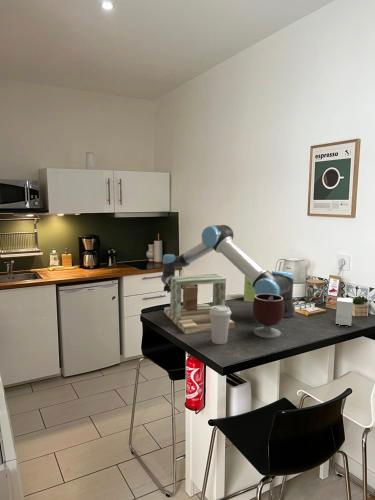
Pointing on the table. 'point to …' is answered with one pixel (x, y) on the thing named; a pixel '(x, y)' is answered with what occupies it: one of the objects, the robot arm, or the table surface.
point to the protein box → (248, 291)
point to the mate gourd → (268, 314)
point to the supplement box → (344, 311)
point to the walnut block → (190, 297)
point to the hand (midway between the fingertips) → (185, 291)
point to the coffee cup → (219, 323)
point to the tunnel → (201, 317)
